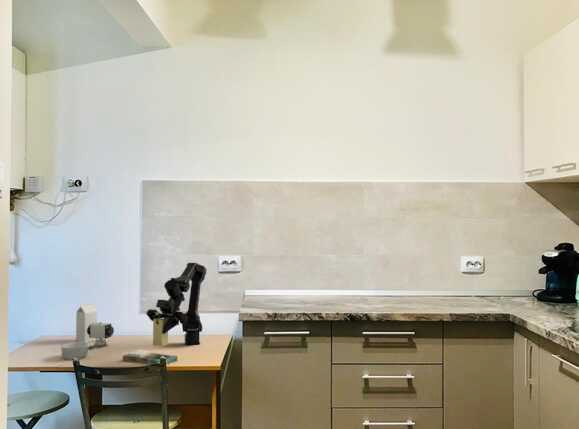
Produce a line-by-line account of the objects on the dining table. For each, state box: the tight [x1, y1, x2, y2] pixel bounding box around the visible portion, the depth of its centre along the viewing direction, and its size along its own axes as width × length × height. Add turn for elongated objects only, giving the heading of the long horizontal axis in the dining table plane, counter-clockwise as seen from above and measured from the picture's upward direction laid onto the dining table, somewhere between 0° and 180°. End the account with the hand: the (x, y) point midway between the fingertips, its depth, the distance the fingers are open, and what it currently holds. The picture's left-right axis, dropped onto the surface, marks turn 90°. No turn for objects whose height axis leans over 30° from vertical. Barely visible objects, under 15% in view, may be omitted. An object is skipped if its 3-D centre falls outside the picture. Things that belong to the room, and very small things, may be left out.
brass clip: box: [152, 318, 169, 347], centre depth 209 cm, size 4×4×11 cm
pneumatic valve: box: [87, 321, 115, 349], centre depth 235 cm, size 6×12×12 cm, turn 79°
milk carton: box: [75, 302, 98, 343], centre depth 247 cm, size 7×7×19 cm
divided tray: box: [122, 349, 178, 365], centre depth 211 cm, size 22×9×3 cm, turn 67°
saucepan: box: [60, 341, 109, 361], centre depth 217 cm, size 12×20×6 cm, turn 92°
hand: (158, 333), depth 208 cm, fingers closed on brass clip, 4 cm apart
